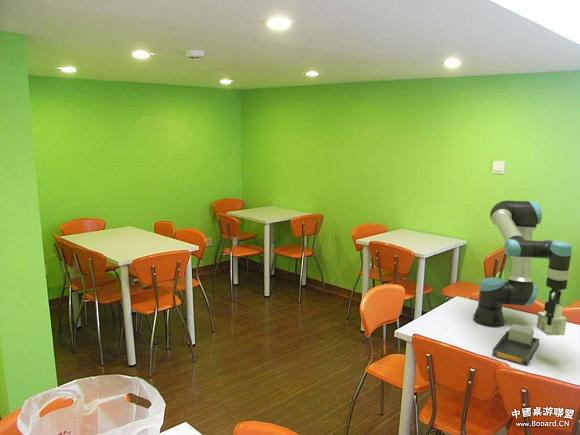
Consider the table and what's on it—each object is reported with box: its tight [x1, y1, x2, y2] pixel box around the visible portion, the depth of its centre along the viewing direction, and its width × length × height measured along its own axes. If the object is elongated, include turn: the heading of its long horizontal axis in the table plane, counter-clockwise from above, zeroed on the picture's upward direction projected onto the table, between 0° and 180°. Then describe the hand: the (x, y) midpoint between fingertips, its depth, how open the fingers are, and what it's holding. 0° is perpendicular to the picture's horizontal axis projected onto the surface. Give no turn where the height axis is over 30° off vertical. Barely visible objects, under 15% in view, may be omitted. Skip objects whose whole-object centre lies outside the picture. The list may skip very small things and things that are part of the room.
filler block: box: [508, 323, 535, 345], centre depth 210 cm, size 9×8×6 cm
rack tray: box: [492, 330, 540, 367], centre depth 205 cm, size 14×27×3 cm, turn 142°
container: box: [536, 301, 567, 336], centre depth 192 cm, size 8×8×13 cm
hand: (550, 327), depth 193 cm, fingers closed on container, 10 cm apart
